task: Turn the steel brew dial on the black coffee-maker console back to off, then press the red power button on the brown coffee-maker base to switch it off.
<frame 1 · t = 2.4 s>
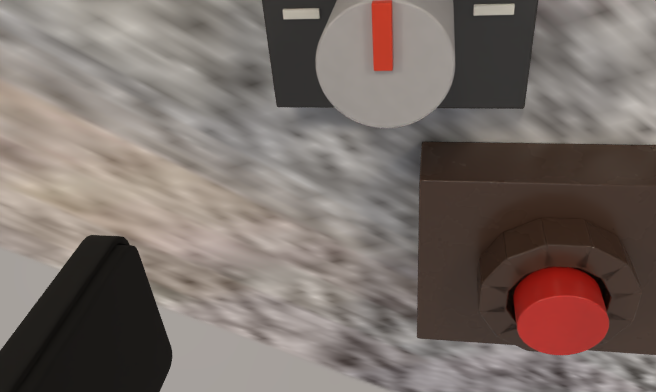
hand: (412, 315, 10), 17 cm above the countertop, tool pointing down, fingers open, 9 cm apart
power button: (559, 311, 25), point 5 cm above the countertop, slide at 0.1 cm
dial: (389, 38, 20), point 5 cm above the countertop, hinge at 90.0°
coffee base: (542, 229, 30), on the countertop
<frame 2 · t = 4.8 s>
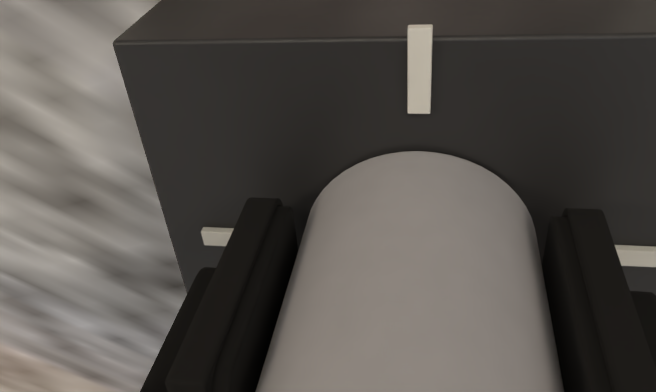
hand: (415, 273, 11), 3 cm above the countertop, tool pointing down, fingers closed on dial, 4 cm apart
console: (422, 169, 13), on the countertop
dial: (410, 358, 9), point 5 cm above the countertop, hinge at 90.0°, touching gripper
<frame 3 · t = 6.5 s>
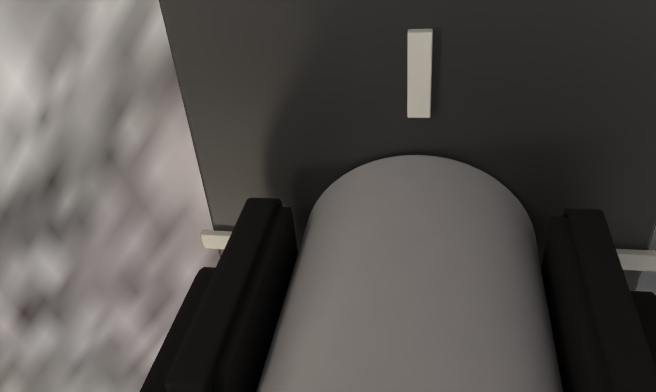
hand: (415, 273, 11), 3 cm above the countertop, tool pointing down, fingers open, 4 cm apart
console: (422, 172, 13), on the countertop
dial: (409, 362, 9), point 5 cm above the countertop, hinge at -0.2°
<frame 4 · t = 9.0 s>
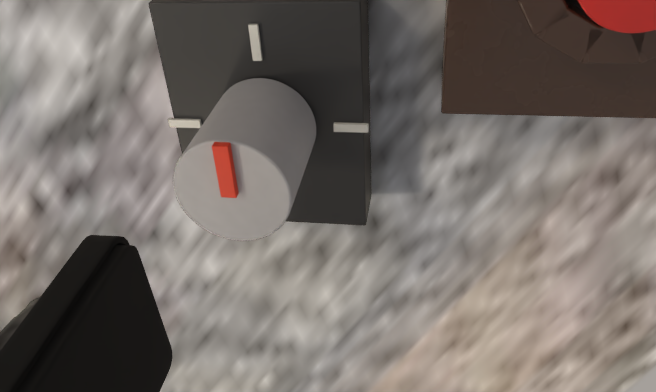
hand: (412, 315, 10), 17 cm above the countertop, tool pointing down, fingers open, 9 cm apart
console: (280, 97, 27), on the countertop
beverage cup: (62, 320, 38), on the countertop
dial: (249, 158, 22), point 5 cm above the countertop, hinge at -0.3°
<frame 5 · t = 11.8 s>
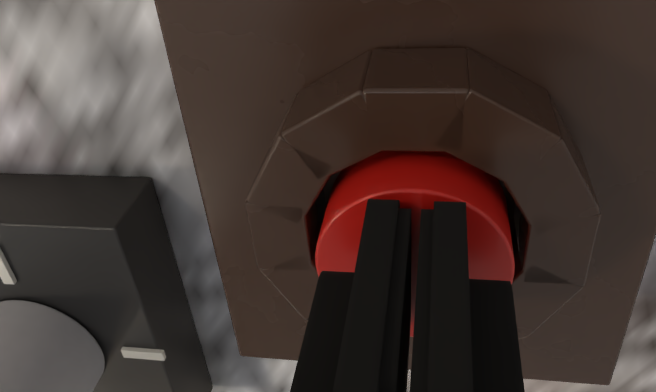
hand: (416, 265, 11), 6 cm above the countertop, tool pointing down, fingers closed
power button: (413, 240, 12), point 5 cm above the countertop, slide at -0.5 cm, touching gripper
console: (81, 289, 22), on the countertop
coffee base: (422, 119, 15), on the countertop
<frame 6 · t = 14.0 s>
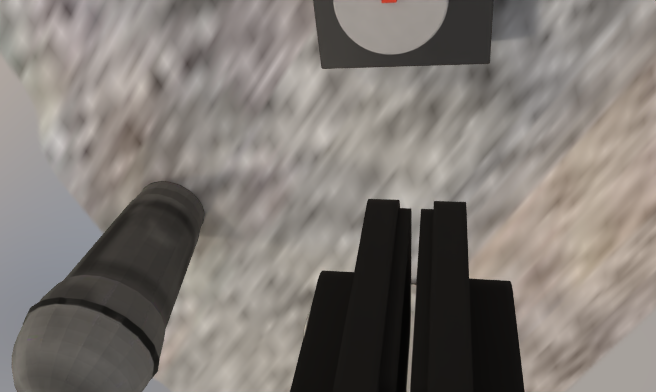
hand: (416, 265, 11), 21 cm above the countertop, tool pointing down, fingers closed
beverage cup: (173, 206, 40), on the countertop
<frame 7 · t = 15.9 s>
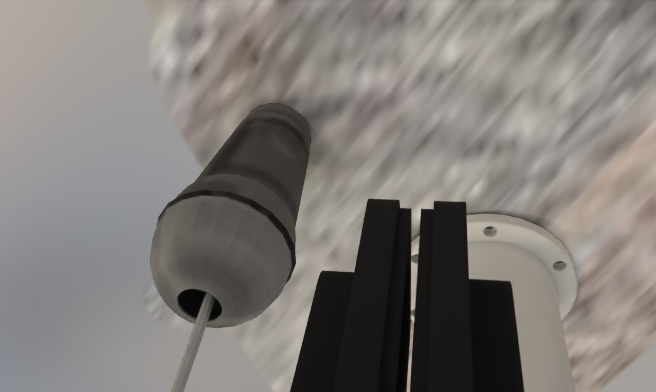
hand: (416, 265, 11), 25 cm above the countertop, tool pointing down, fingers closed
beverage cup: (278, 132, 40), on the countertop
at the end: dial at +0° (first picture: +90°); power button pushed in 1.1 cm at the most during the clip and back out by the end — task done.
